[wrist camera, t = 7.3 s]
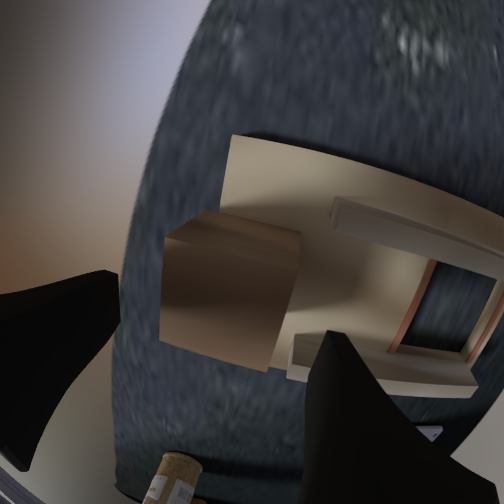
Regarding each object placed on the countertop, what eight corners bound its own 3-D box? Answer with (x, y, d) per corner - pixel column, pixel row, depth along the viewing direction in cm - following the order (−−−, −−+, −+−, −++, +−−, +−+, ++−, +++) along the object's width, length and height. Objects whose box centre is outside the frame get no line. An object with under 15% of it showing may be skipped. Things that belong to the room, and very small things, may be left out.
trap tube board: (450, 382, 16) (464, 415, 13) (205, 338, 18) (186, 375, 14) (525, 229, 11) (558, 247, 8) (237, 135, 13) (216, 131, 10)
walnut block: (277, 313, 15) (266, 372, 11) (195, 291, 15) (159, 340, 11) (300, 232, 13) (298, 271, 9) (206, 209, 14) (165, 237, 9)
